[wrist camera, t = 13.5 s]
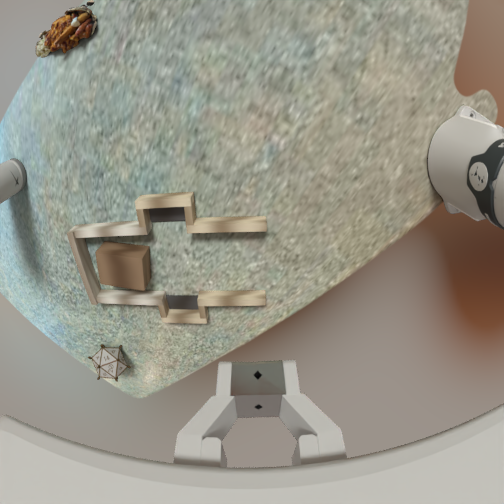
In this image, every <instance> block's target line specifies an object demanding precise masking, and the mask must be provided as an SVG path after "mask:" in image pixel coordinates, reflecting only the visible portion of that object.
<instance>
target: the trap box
mask: <svg viewBox="0 0 504 504" xmlns="http://www.w3.org/2000/svg"><path fill="white" fill-rule="evenodd" d="M135 205H136V211H137V216H138V221H125V222H110V223H95V224H82V225H75V226H74V227H73V228H72V229H71V230H70V231H69V232H68V233H67V235H68V239H69V242H70V245H71V249H72V252H73V255H74V258H75V261H76V264H77V267H78V269H79V272H80V275H81V278H82V281H83V283H84V286H85V289H86V291H87V294H88V296H89V299H90V301H91V304H93V305H97V304H98V303H107V304H129V305H158V308H159V311H160V315H161V318H162V322H163V323H199V324H207V320H208V308H207V306H261V305H266V295H265V290H247V291H199V295H198V296H172V295H166V292H165V291H139V290H102V289H101V288H100V285H99V282H98V279H97V276H96V273H95V270H94V267H93V264H92V261H91V258H90V254H89V251H88V248H87V244H86V241H85V238H87V237H107V236H130V235H148V233H149V232H150V230H151V228H152V223H151V222H157V221H179V220H186V227H187V233H217V232H262V231H267V222H266V216H249V217H211V218H196V211H195V201H194V192H181V193H166V194H151V195H141V196H140V197H139V198H138V199H137V200H136V201H135Z"/></svg>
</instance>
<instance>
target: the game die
mask: <svg viewBox="0 0 504 504" xmlns="http://www.w3.org/2000/svg"><path fill="white" fill-rule="evenodd" d="M101 347H102V348H101V349H100V350H99V351H98V352H97V353H96V354H95V355H94V356H93V357H88V358H89V359H92V361H93V363H94V366H95V368H96V370H97V373H98V375H99V377H98V380H99V379H100V377H103V378H114V379H115V381H118V380H117V379H118V376H119V375H120V374H121V373H122V372H123V371H124V370H125V369H126V368H127V367H128V368H131V367H130V366H127V364H126V362H125V359H124V357H123V355H122V352H121V350H120V348H121V347H122V345H120V346H119V348H111V347H105V346H104V345H102V344H101Z"/></svg>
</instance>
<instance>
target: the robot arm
mask: <svg viewBox="0 0 504 504" xmlns="http://www.w3.org/2000/svg"><path fill="white" fill-rule="evenodd" d="M470 114H471V117H470ZM428 171H429V176H430V179H431V182H432V184H433V186H434V188H435V189H436V191H437V192H438V193H439V194H440V195H441V197H442V198H443V201H444V205H445V208H446V210H447V211H448V212H449V213H451V214H455V213H460V212H463V213H464V214H466V215H468V216H469V217H471V218H473V219H474V220H476V221H480V220H484V219H488V220H489V221H490V222H491V223H492V224H494V225H495V226H498V227H500V228H501V229H504V128H502V127H501V126H499V125H495V124H493V123H492V122H491V121H489V120H488V119H487V118H485V117H484V116H482V115H481V114H479V113H478V112H477V111H475V110H474V109H472V108H471V107H469V106H466V105H462V106H461V107H460V108H459V109H458V111H457V112H456V114H455V115H454V116H453V117H452V118H450V119H449V120H447V121H445V122H444V123H443V124H442V125H441V126H440V127H439V128H438V129H437V131H436V133H435V134H434V136H433V138H432V141H431V144H430V148H429V153H428ZM245 417H246V418H249V417H279V418H280V419H281V421H282V422H283V423H284V425H285V426H286V427H287V428H288V430H289V431H290V432H291V433H292V435H293V436H294V437H295V438H296V440H297V441H298V442H297V445H296V448H295V451H294V454H293V457H292V466H281V467H259V468H228V467H227V458H226V455H225V452H224V449H223V445H222V440H223V439H224V437H225V436H226V435H227V433H228V432H229V430H230V429H231V428H232V426H233V425H234V423H235V422H236V420H237V418H245ZM0 504H504V404H501V405H499V406H498V407H496V408H494V409H492V410H490V411H488V412H486V413H484V414H482V415H480V416H478V417H476V418H473V419H471V420H469V421H467V422H465V423H462V424H460V425H458V426H455V427H453V428H450V429H448V430H445V431H443V432H440V433H437V434H435V435H432V436H429V437H426V438H424V439H420V440H417V441H414V442H411V443H408V444H405V445H401V446H398V447H394V448H390V449H387V450H383V451H379V452H375V453H370V454H366V455H361V456H357V457H351V458H347V456H346V451H345V446H344V441H343V436H342V431H341V429H340V428H339V427H338V426H337V425H336V424H335V423H334V422H333V421H332V420H331V419H330V418H329V417H327V416H326V414H325V413H323V412H322V411H321V410H320V409H319V408H318V407H317V406H316V405H315V404H314V403H313V402H312V401H311V400H310V399H309V398H308V397H307V395H305V394H304V393H303V394H302V393H301V392H300V386H299V379H298V372H297V365H296V361H295V360H285V361H282V360H279V361H259V362H219V365H218V375H217V388H216V396H212V397H211V398H210V399H209V400H208V401H207V402H206V403H205V404H204V406H203V407H202V408H201V409H200V410H199V411H198V412H197V413H196V414H195V416H194V417H193V418H192V419H191V420H190V421H189V422H188V423H187V424H186V425H185V427H184V428H183V429H182V430H181V431H180V432H179V433H178V435H177V442H176V449H175V456H174V463H166V462H159V461H153V460H147V459H141V458H136V457H131V456H126V455H122V454H117V453H113V452H108V451H105V450H101V449H98V448H94V447H90V446H87V445H84V444H80V443H77V442H74V441H71V440H68V439H65V438H62V437H59V436H56V435H54V434H51V433H48V432H46V431H43V430H41V429H38V428H36V427H33V426H31V425H29V424H26V423H24V422H22V421H20V420H18V419H16V418H14V417H11V416H9V415H4V416H1V417H0Z"/></svg>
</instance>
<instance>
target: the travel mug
mask: <svg viewBox="0 0 504 504" xmlns="http://www.w3.org/2000/svg"><path fill="white" fill-rule="evenodd" d="M25 183H26V172H25V168H24V166H23V164H22V163H21V162H20V161H19V160H18V159H15V158H13V159H10V160H8V161H6V162H4V163H1V164H0V204H1V203H2V202H4V201H5V200H7V199H8V198H10V197H11V196H13V195H15V194H16V193H18V192H19V191H21V190H22V189H23V188H24V186H25Z"/></svg>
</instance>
